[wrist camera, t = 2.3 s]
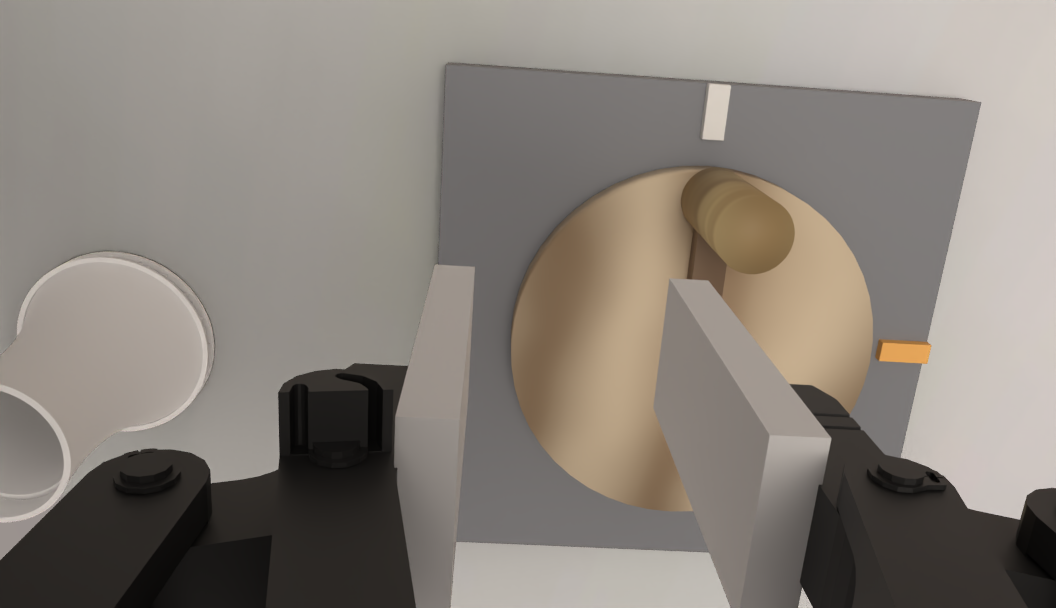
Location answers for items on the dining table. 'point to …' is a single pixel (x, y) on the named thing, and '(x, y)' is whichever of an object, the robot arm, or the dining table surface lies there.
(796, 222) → the dial
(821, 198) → the dial base
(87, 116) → the dining table surface
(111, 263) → the vase
